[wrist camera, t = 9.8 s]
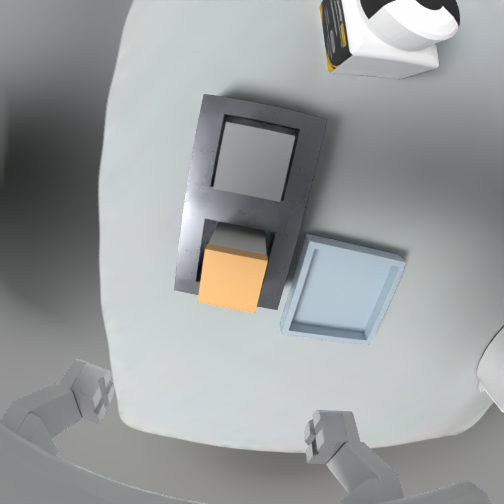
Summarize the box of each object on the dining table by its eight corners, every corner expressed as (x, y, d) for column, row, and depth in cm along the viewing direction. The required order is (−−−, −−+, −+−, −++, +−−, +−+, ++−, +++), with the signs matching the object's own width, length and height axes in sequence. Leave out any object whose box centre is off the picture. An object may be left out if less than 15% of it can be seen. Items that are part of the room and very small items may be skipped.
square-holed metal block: (212, 100, 23) (203, 94, 19) (316, 121, 23) (327, 119, 19) (184, 269, 29) (174, 289, 25) (275, 287, 29) (277, 310, 25)
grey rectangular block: (284, 136, 23) (295, 136, 16) (273, 183, 24) (280, 201, 18) (235, 126, 23) (226, 122, 16) (225, 174, 24) (213, 188, 18)
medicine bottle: (318, 5, 19) (355, -64, 8) (390, 14, 18) (456, -33, 7) (327, 74, 21) (379, 32, 10) (400, 80, 21) (482, 59, 10)
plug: (265, 228, 26) (267, 261, 19) (255, 270, 27) (254, 313, 21) (218, 219, 26) (205, 249, 19) (211, 261, 27) (197, 302, 21)
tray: (398, 254, 28) (406, 262, 26) (364, 334, 31) (369, 345, 29) (306, 233, 27) (309, 241, 25) (279, 322, 31) (281, 334, 29)
